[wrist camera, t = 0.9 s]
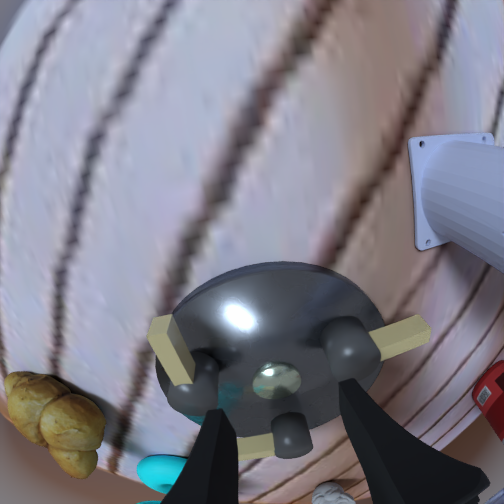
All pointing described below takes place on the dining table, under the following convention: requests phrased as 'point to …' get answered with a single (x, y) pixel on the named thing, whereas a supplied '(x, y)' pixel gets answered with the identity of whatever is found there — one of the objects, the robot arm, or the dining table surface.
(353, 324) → the knob near arm
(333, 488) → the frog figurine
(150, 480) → the donuts
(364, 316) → the tribrach plate
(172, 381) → the grey and khaki peg
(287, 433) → the grey knob khaki handle
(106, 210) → the dining table surface
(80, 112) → the dining table surface
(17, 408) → the bread roll
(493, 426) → the canned food
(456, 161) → the robot arm
